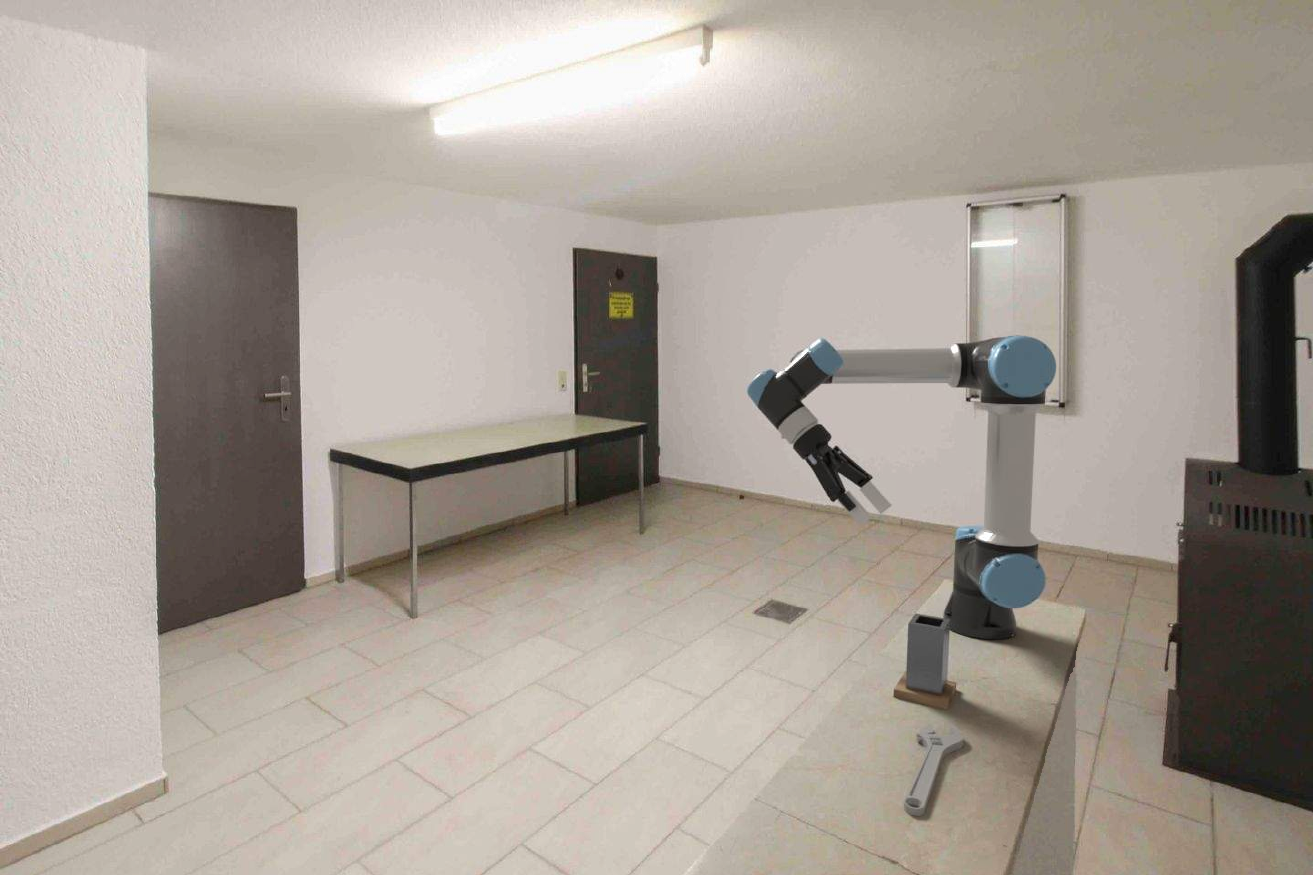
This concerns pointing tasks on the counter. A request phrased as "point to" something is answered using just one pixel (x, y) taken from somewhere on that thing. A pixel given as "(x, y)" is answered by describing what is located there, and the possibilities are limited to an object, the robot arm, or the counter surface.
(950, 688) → the drive block
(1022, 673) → the counter surface
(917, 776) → the adjustable wrench
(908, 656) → the grey square tube
